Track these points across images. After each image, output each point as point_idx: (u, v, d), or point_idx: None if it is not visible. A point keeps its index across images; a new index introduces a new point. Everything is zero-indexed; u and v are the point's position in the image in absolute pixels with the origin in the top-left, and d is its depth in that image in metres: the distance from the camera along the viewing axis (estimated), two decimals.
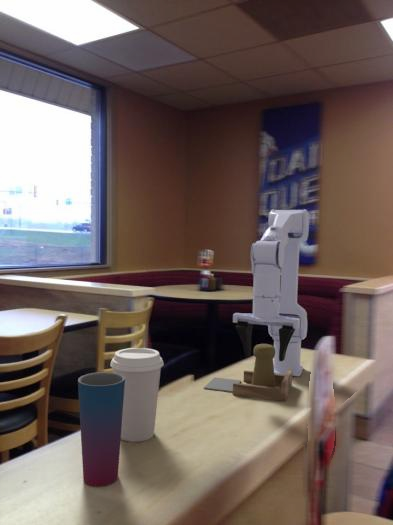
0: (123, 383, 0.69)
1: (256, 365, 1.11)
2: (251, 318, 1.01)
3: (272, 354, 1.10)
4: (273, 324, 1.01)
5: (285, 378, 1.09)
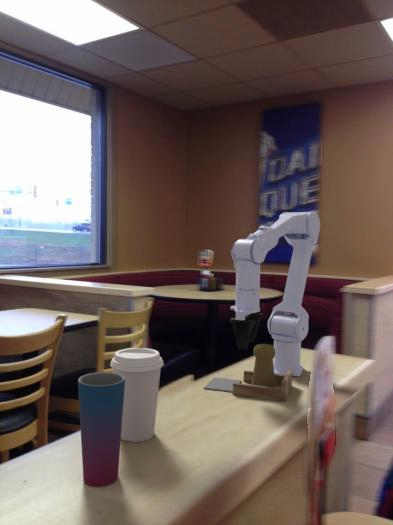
0: (123, 383, 0.69)
1: (256, 365, 1.11)
2: None
3: (272, 354, 1.10)
4: None
5: (285, 378, 1.09)
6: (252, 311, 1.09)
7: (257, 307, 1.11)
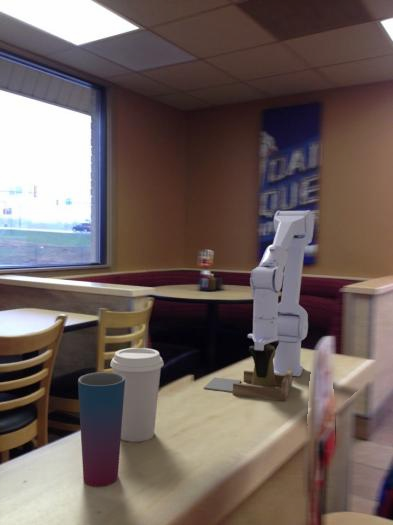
0: (123, 383, 0.69)
1: None
2: None
3: (272, 354, 1.10)
4: None
5: (285, 378, 1.09)
6: (270, 340, 1.08)
7: (275, 336, 1.10)
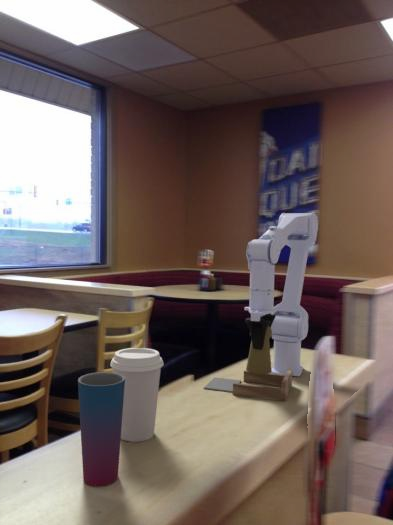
0: (123, 383, 0.69)
1: (252, 345, 1.11)
2: None
3: (268, 334, 1.10)
4: None
5: (285, 378, 1.09)
6: (267, 312, 1.08)
7: (271, 308, 1.10)
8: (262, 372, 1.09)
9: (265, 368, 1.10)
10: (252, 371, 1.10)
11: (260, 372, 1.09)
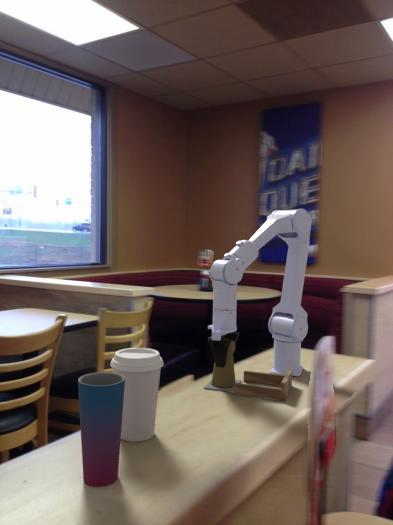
0: (123, 383, 0.69)
1: None
2: None
3: (231, 348, 1.13)
4: None
5: (285, 378, 1.09)
6: (228, 331, 1.11)
7: (234, 327, 1.13)
8: (226, 386, 1.12)
9: (228, 382, 1.13)
10: (216, 385, 1.13)
11: (224, 386, 1.12)
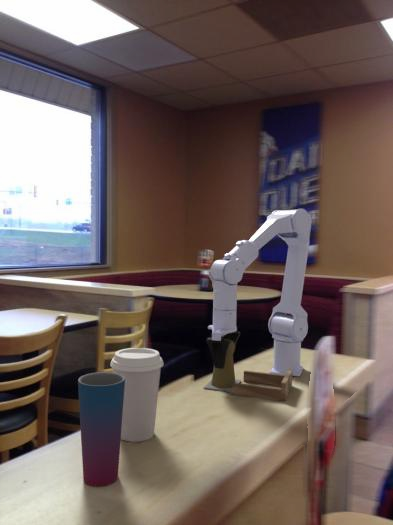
0: (123, 383, 0.69)
1: None
2: None
3: (230, 349, 1.13)
4: None
5: (285, 378, 1.09)
6: (228, 331, 1.11)
7: (234, 327, 1.13)
8: (226, 386, 1.12)
9: (228, 382, 1.13)
10: (216, 385, 1.13)
11: (224, 386, 1.12)
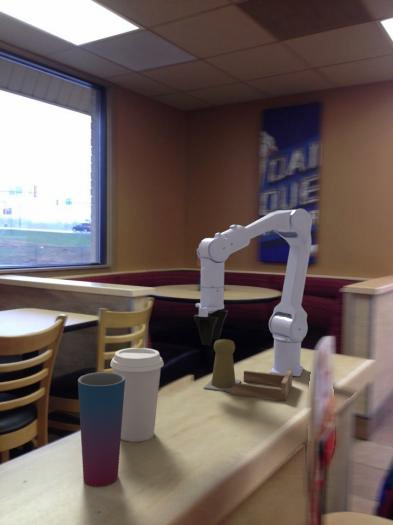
0: (123, 383, 0.69)
1: (216, 360, 1.14)
2: None
3: (230, 349, 1.13)
4: (208, 312, 1.14)
5: (285, 378, 1.09)
6: (215, 308, 1.12)
7: (221, 304, 1.14)
8: (226, 386, 1.12)
9: (228, 382, 1.13)
10: (216, 385, 1.13)
11: (224, 386, 1.12)
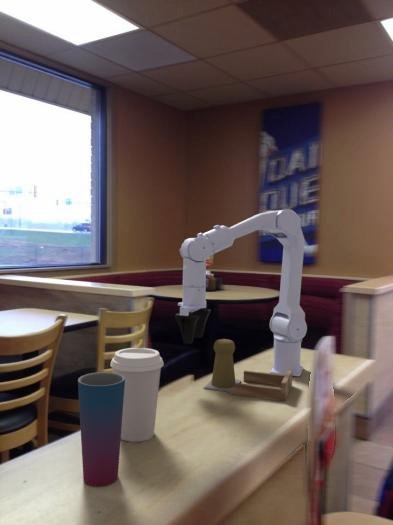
0: (123, 383, 0.69)
1: (216, 360, 1.14)
2: None
3: (230, 349, 1.13)
4: (190, 311, 1.16)
5: (285, 378, 1.09)
6: (197, 307, 1.13)
7: (202, 303, 1.16)
8: (226, 386, 1.12)
9: (228, 382, 1.13)
10: (216, 385, 1.13)
11: (224, 386, 1.12)
